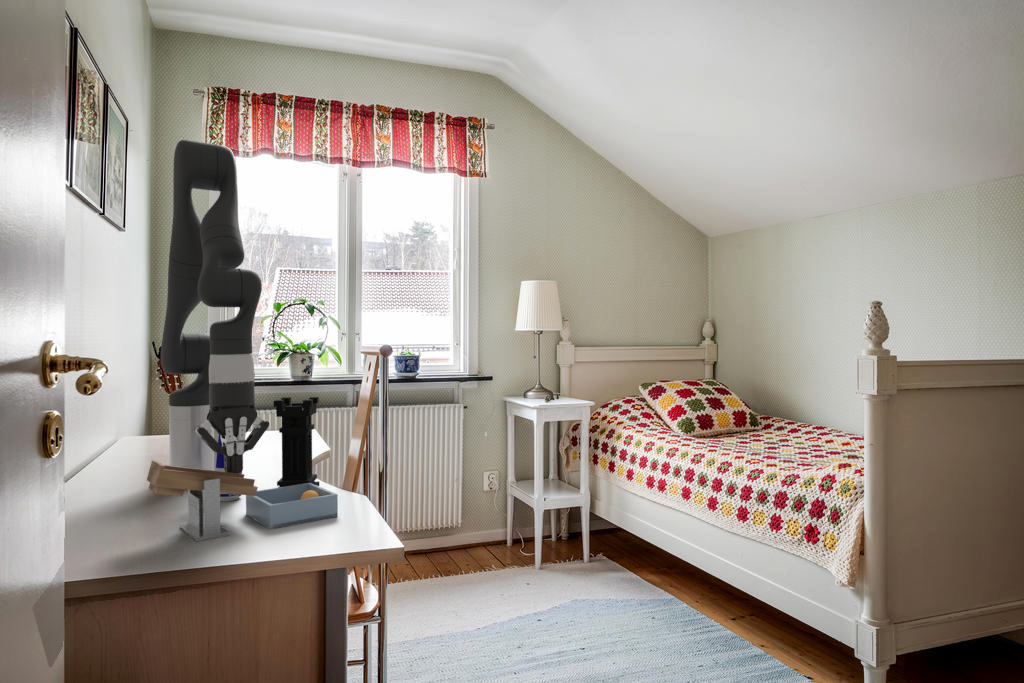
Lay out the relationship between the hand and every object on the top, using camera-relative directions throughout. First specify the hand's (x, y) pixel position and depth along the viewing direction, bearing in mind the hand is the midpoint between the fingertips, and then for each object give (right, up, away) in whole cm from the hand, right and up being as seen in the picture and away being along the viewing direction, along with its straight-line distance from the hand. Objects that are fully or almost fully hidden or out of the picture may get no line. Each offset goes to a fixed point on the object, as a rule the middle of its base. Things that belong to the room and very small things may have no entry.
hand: (233, 475), depth 120 cm
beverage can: (-7, -8, +14) cm, 17 cm away
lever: (-3, -2, -7) cm, 8 cm away
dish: (+10, -8, +1) cm, 13 cm away
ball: (+13, -5, +4) cm, 14 cm away
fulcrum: (-2, -8, -8) cm, 11 cm away
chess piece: (+7, -8, +14) cm, 18 cm away
